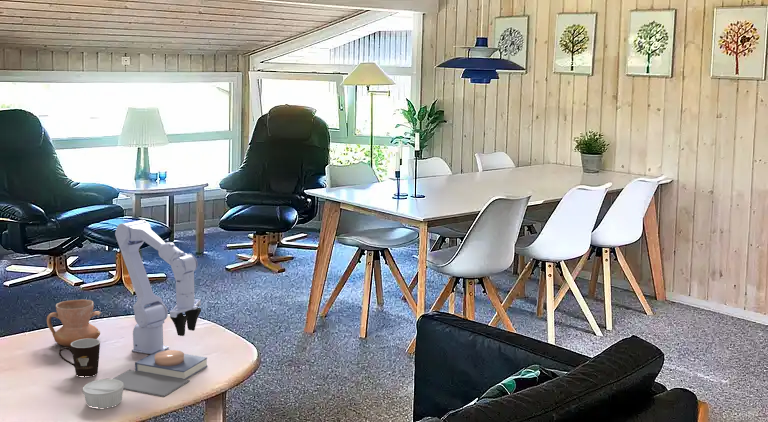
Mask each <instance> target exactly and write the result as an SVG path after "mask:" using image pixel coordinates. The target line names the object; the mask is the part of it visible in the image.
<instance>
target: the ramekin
mask: <svg viewBox="0 0 768 422" xmlns="http://www.w3.org/2000/svg"><path fill="white" fill-rule="evenodd" d="M123 388H124V384H123V382H122V381H120V380H116V379H113V378H101V379H97V380H92V381H90V382H87V383H86V384H85V385H84V386H83V387H82V393H83V396H84V400H85V403H87V404H88V405H89V406H92V407H98V408H107V407H112V406H115V405H117V404H118V405H119V404H121V402H122V400H123V393H124V389H123ZM87 404H86V405H87ZM88 405H87V406H88ZM118 405H117V406H118ZM89 406H88V407H89ZM115 407H116V406H115ZM112 408H113V407H112Z"/></svg>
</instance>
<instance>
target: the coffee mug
mask: <svg viewBox="0 0 768 422" xmlns="http://www.w3.org/2000/svg"><path fill="white" fill-rule="evenodd" d="M100 345H101V341H100V339H98V338H97V339H80V340H76V341H74V342H72V343H71V347H66V346H62V348H61V349H59V351H58V355H59V357H60V358H61V359H62V360H63V361H65V362H66V363H67V364H70V365H71V366H73V367H74V370H75V371H74V372H75V376H76V375H78V376H84V377H85V376H92V377H94V376H93V375H95V374H97V373H99V364H100V363H99V361H100V360H99V359H100V351H101V350H100V348H101V347H100ZM63 350H68V351H69V352H70V353H71V355H72V359H73V362H71V361H69V360H68V359H66V358H65V357H64V356H63V355H62V354H61V353H62V351H63ZM97 375H98V374H97ZM95 376H96V375H95Z"/></svg>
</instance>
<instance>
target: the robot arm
mask: <svg viewBox="0 0 768 422" xmlns="http://www.w3.org/2000/svg"><path fill="white" fill-rule="evenodd" d="M114 235H115V238H116V241H117V243H118V247H119V250H120V252H121V256H122V259H123V261H124V264H125V266H126V269H127V271H128V276H129V277H130V281H131V284H132V286H133V289H134V292H135V295H136V298H137V299H136V302H135V303H134V305H133V306H132V308H133V312H134V321H135V322H136V325H134V327H133V330H132V340H133V341H132V345H133V348H132V350H131V351H132V352H135V353H142V354H147V355H151V354H152V353H154V352H156V351H158V350H165V351H167V349H169V348H170V346H168V345H164V326H163V325H164V324H165V320H166V319H167V318H168V315H169V318H170V319H171V320H172V323H173V324H174V327H175V330H176V333H177V335H178V336H180V337H184V336H185V334H186V327H187V330H188V331H195V330H196V326H197V322H198V318H199V315H200V313H201V312H202V308H200V306H201V304H202V301H201V299H195V271H197V269H198V260H197V258H196V257H195V255H194V254H192V253H186V252H184V251H183V250H181V249H180V248H179V247H177V246H176V245H175V243H174V242H171V241H167V242H166V241H164V240H163V239H162V238H161V237H160V235H158V234H157V233H156V232H155V231H154V230H152V226H151V224H150V223H148V222H147V221H146V219H139V220H135V221H129V222H125V223H119V224H117V226H116V230H115V233H114ZM144 242H145V244H147V245H149V246H150V247H152V248H153V249H154V250H156V251H157V252H158V256H159V257H160V258H161V259H162V260H164V262H166V263H167V264H169V265H170V266H171V267H170V268H171V271H172V274H173V276H174V277H173V278H174V280H175V300H176V305H175V306H174V307H173V309H171V310H169V313H168V308H167V306H166V304H165V303H164V302H163V299H162V298H161V297H160V296H159V295H156V294H154V291H153V289H152V286H151V283H150V280H149V279H150V278H149V277H148V274H147V271H146V268H145V265H144V262H143V259H142V257H141V254H140V252H139V250H140V248H141V246H142V245H143V244H144ZM186 325H187V326H186Z"/></svg>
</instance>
